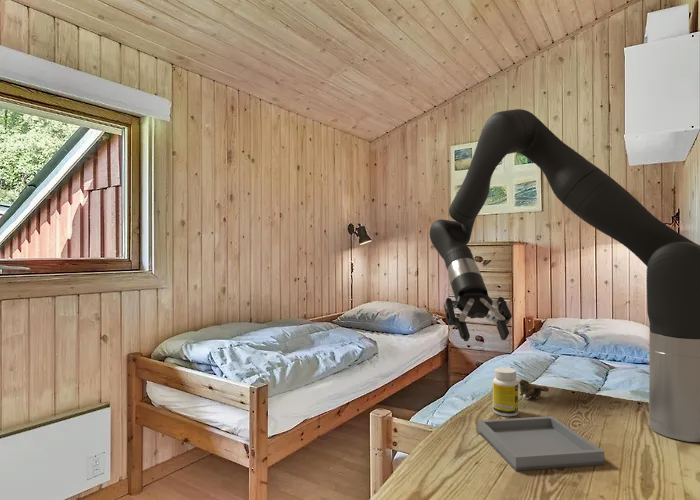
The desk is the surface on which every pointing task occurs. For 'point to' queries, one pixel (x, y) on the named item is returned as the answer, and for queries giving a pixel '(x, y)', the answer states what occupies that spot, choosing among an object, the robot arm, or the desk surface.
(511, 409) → the supplement bottle
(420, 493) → the desk surface
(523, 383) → the cat figurine
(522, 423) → the tray
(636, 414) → the desk surface
